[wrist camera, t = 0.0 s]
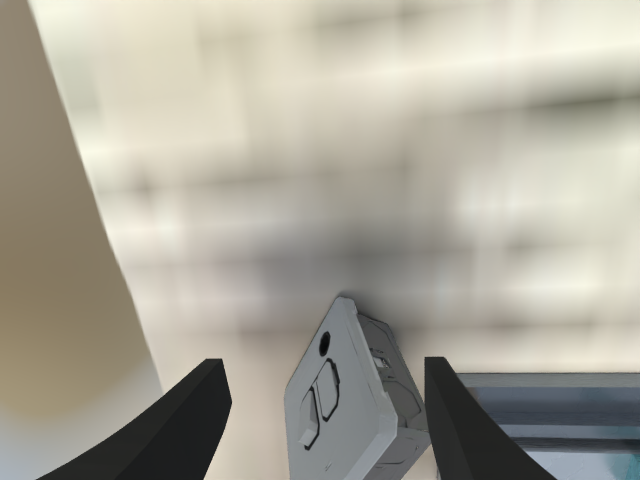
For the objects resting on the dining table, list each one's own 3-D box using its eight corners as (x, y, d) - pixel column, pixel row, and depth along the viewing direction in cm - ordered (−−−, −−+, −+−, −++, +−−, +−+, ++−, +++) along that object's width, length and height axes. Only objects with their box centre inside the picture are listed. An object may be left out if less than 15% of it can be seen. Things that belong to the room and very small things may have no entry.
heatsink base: (626, 486, 26) (671, 553, 22) (437, 479, 28) (449, 541, 24) (657, 373, 23) (718, 430, 19) (439, 373, 25) (453, 426, 21)
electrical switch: (339, 287, 23) (345, 410, 15) (411, 317, 24) (457, 449, 15) (283, 389, 27) (262, 535, 18) (347, 411, 27) (356, 562, 19)
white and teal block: (633, 467, 24) (675, 525, 21) (502, 463, 25) (523, 518, 22) (642, 433, 23) (688, 488, 20) (506, 430, 24) (528, 482, 21)
